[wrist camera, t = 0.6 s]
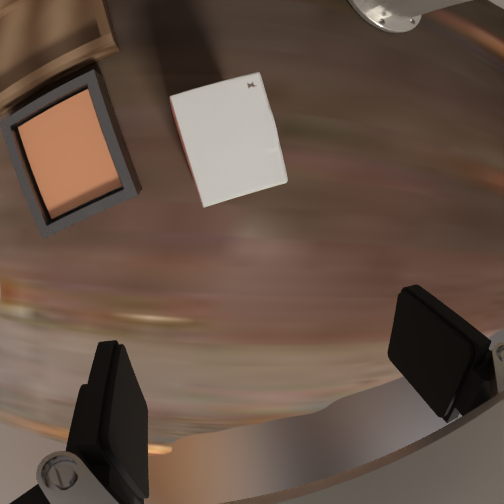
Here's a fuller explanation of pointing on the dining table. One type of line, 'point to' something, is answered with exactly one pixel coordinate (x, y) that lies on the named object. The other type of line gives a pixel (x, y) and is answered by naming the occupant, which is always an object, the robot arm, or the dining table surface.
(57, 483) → the robot arm
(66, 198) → the spring pad
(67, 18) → the walnut trough
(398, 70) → the dining table surface
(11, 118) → the frame
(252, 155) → the small box
